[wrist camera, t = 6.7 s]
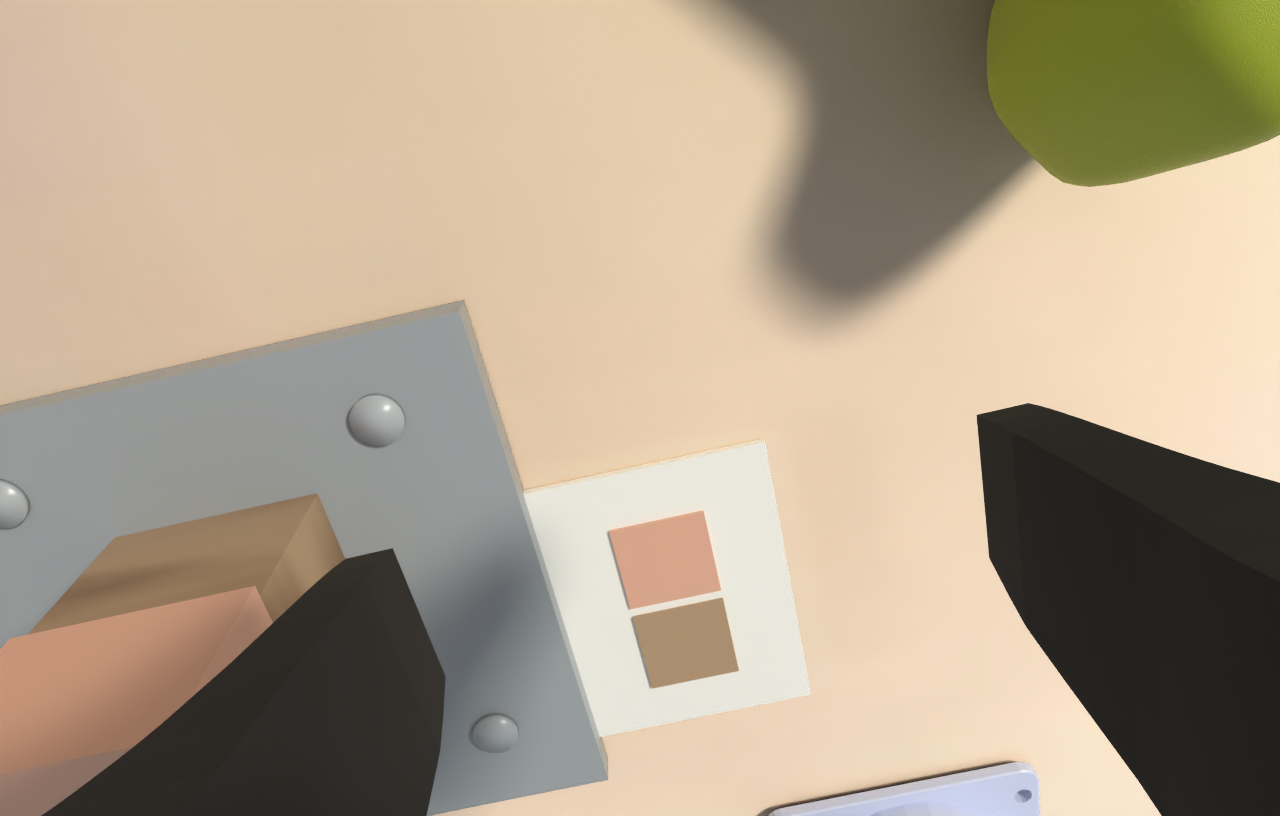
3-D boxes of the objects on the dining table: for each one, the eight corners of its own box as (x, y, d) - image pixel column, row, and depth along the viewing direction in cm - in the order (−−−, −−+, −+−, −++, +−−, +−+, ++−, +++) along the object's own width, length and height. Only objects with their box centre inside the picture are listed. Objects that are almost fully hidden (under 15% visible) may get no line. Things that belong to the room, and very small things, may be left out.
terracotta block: (345, 773, 20) (288, 951, 16) (124, 818, 20) (18, 1003, 16) (255, 585, 17) (165, 739, 14) (9, 638, 18) (-142, 803, 14)
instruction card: (809, 689, 25) (811, 696, 25) (599, 732, 26) (599, 739, 25) (763, 438, 22) (765, 444, 22) (524, 490, 22) (523, 496, 22)
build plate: (607, 757, 26) (608, 785, 25) (143, 851, 27) (127, 881, 26) (464, 300, 20) (458, 314, 19) (-123, 434, 21) (-155, 453, 20)
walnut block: (387, 659, 23) (349, 781, 20) (201, 698, 23) (129, 826, 20) (317, 493, 21) (259, 595, 18) (114, 537, 21) (15, 647, 18)
